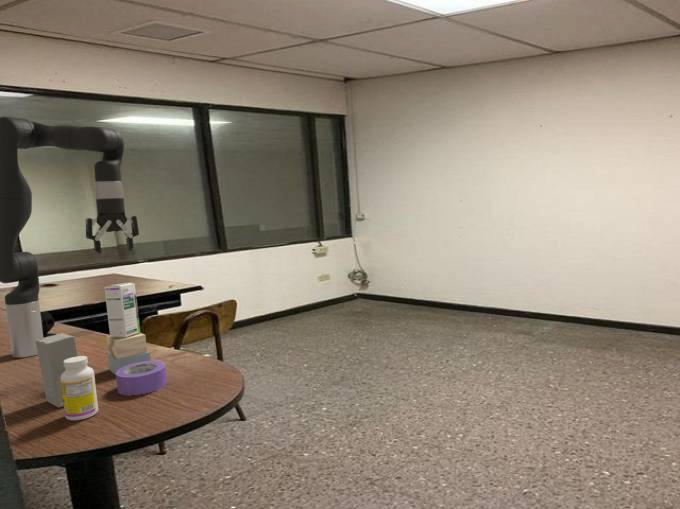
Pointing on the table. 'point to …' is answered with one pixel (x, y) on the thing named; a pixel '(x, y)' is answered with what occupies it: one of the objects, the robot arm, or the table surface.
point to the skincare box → (54, 363)
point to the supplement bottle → (78, 389)
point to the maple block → (126, 345)
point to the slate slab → (126, 361)
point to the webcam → (47, 324)
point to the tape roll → (141, 378)
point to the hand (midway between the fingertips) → (114, 252)
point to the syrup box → (122, 310)
